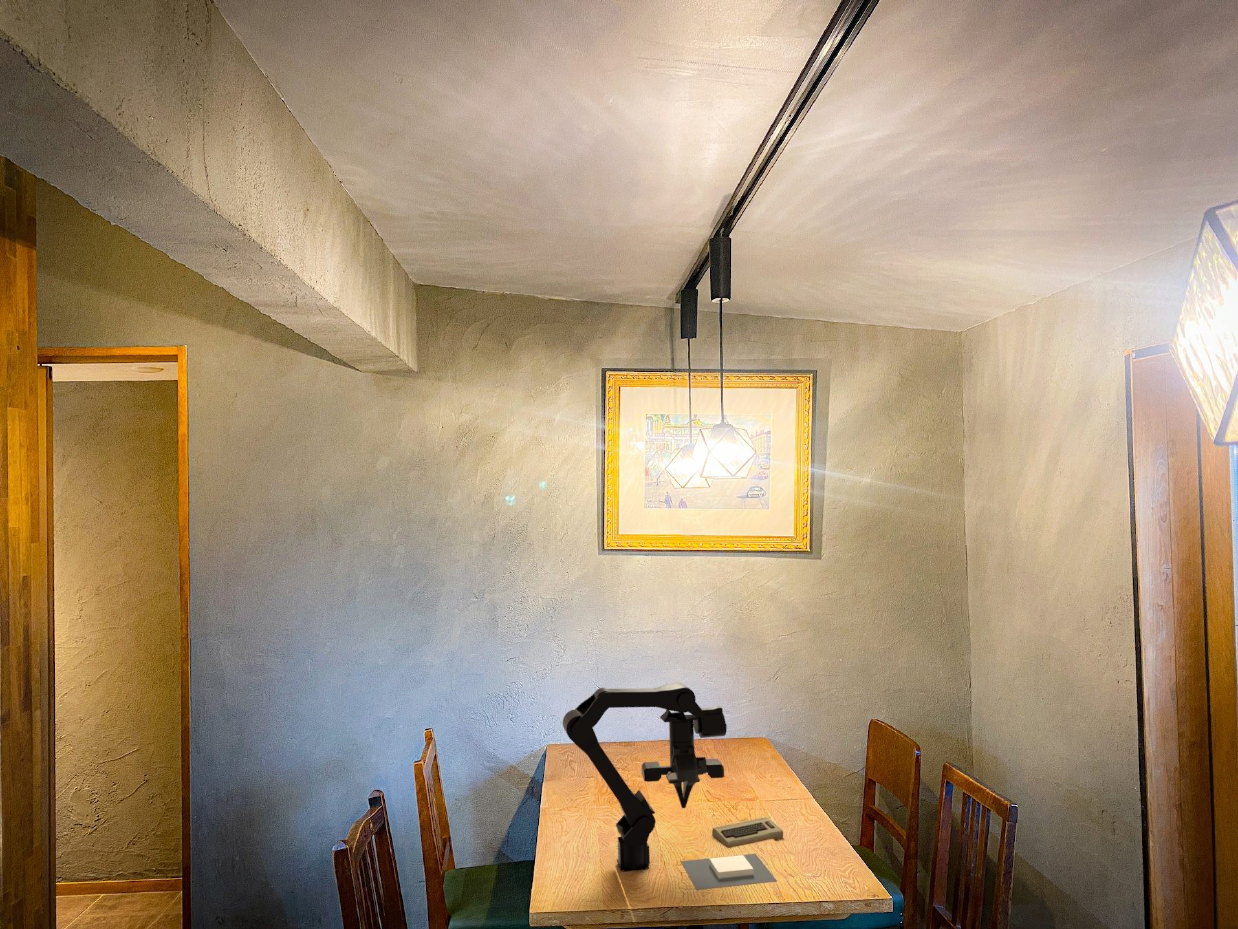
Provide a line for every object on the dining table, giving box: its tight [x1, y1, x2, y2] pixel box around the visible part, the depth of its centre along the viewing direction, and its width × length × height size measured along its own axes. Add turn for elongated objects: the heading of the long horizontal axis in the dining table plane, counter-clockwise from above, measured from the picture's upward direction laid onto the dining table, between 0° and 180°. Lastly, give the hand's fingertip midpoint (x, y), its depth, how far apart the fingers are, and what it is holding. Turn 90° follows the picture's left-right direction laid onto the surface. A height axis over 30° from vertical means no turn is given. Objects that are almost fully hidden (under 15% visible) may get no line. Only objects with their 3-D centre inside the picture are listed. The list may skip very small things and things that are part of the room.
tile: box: [709, 854, 754, 879], centre depth 174 cm, size 2×7×8 cm
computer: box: [711, 816, 784, 848], centre depth 193 cm, size 16×8×3 cm, turn 112°
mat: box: [680, 853, 778, 891], centre depth 174 cm, size 18×14×1 cm
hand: (683, 807), depth 182 cm, fingers closed
